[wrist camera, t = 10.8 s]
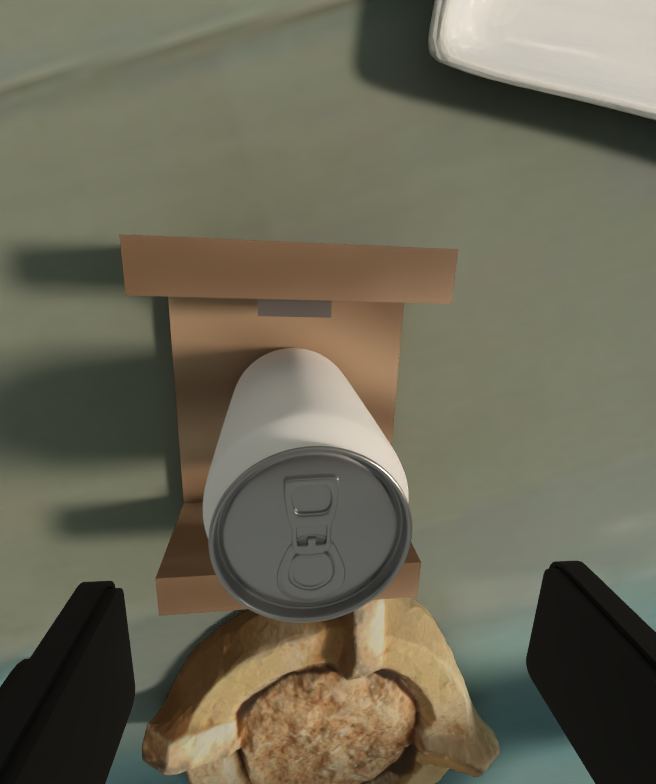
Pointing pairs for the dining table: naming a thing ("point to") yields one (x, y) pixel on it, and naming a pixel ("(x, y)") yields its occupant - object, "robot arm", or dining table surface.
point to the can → (304, 494)
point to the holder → (267, 334)
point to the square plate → (555, 47)
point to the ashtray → (321, 704)
